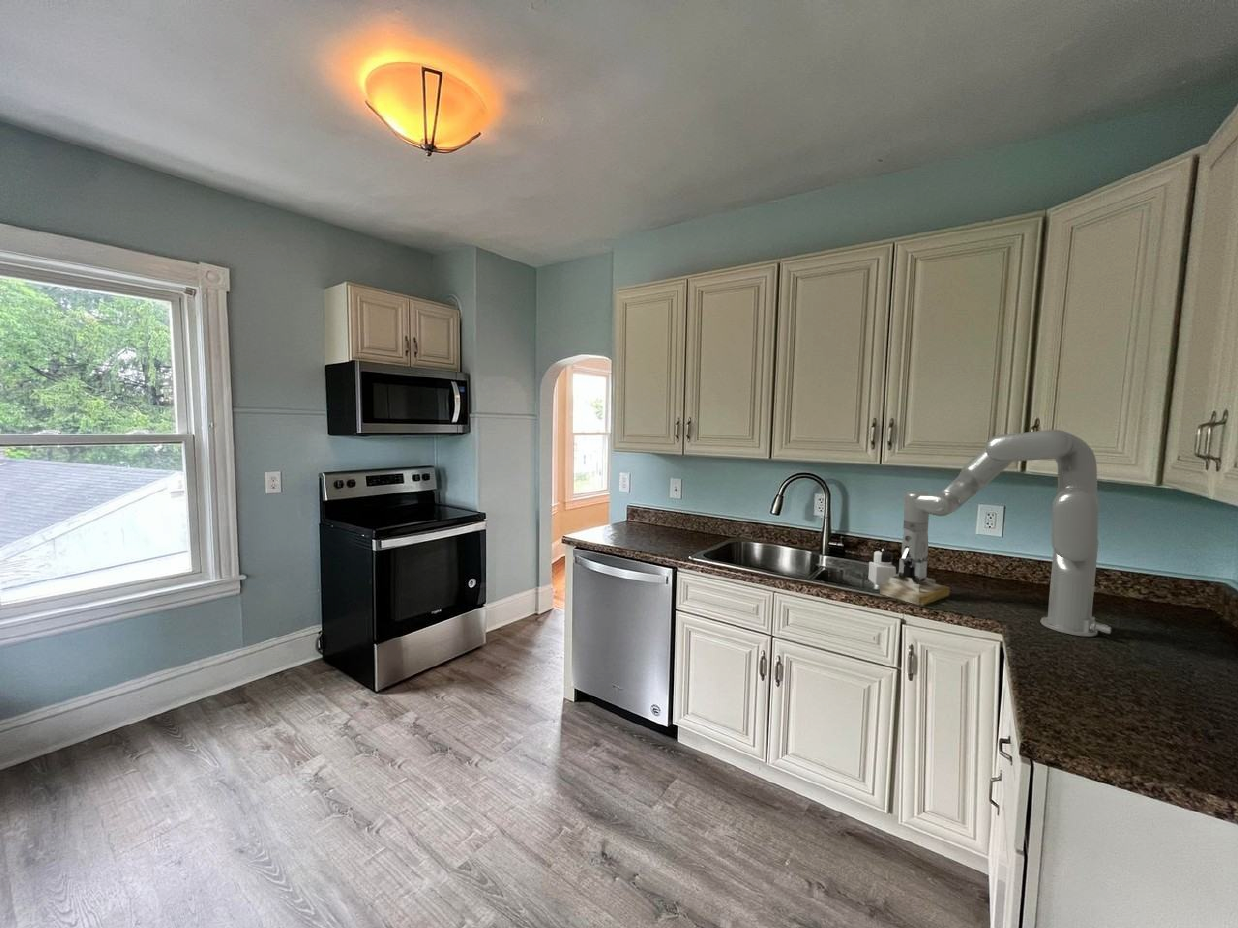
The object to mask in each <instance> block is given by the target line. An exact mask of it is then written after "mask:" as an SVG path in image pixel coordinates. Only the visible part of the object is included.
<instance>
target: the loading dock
mask: <svg viewBox="0 0 1238 928" xmlns="http://www.w3.org/2000/svg"><path fill="white" fill-rule="evenodd" d="M950 589H951V588H950V586H948V585H947V586H946V585H942V584H938V583H936V579H934V578H929V577H926V579H925V580H923V581H920V582H917V583H915V582H914V581H913V580H912V579H911V578H907V577H906V578H905V579H901V578H900V577H899V573H896V575H893V576H889V577H887V583H886V584H885V585H880V589H879V595H883V596H886V597H889V598H892V599H895V600H899V601H903V602H906V603H910V604H914V605H918V606H920V607H923V606H926V605H928V604H930V603H931V604H932V603H933V602H936V601H939V600H942V599H944V598H946V597H950V591H951V590H950Z"/></svg>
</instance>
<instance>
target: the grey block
mask: <svg viewBox="0 0 1238 928" xmlns="http://www.w3.org/2000/svg"><path fill="white" fill-rule="evenodd" d="M908 558H911V556H909V557H908ZM909 561H910V563H911V560H909ZM903 564H904V563H903V561H902V557H901V558H899V565H898V574H899V577H900V578H901V579H905V578H906V577H904V576H903V573H904V565H903ZM927 566H928V560H924V559H923V560H919V559H918V560H914V564H913V567H914V577H913V579H912V580H913V581H914V582H915V583H917V582H920V581H923V580H925V579H926V578H927V569H928V567H927Z"/></svg>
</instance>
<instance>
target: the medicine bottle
mask: <svg viewBox="0 0 1238 928" xmlns="http://www.w3.org/2000/svg"><path fill="white" fill-rule="evenodd" d="M892 559H893V554H892V553H891V552H889V551H884V550H876V551H874V552H873V561H869V562H868V563H869V564H868V580H869V581H870V582H872V583H873V584H874V585H876V586H881V585H885V584H886V583H887V577H889V576H893V575H896V574H897V572H896V571H897V568H896V566H895V565H893V564H892V563H893V562H892Z"/></svg>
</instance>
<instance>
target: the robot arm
mask: <svg viewBox="0 0 1238 928" xmlns="http://www.w3.org/2000/svg"><path fill="white" fill-rule="evenodd" d="M1040 460H1043V461H1044V460H1054V461H1056V463H1057V492H1056V496H1055V498H1054V500H1053V502H1052V510H1051V511H1052V513H1051V514H1052V515H1051V546H1052V548H1053V552H1052V562H1051V574H1050V584H1049V585H1050V586H1049V597H1048V608H1047V609H1048V610H1047V616H1043V617H1041V618H1040V623H1041V625H1043V626H1044V627H1046V628H1047V629H1051V630H1053V631H1055V632H1060V633H1062V634H1067V635H1072V636H1078V637H1095V636H1097V635H1098V631H1099V632H1101V633H1105V634H1108V635H1110V634H1111V633H1112V627H1111V626H1109V625H1108V624H1105V623H1100V622H1097V621H1095V620H1096V618H1095V616H1093V615H1092V613H1093V603H1094V601H1093V600H1094V592H1095V591H1094V590H1095V581H1096V571H1097V569H1096V568H1097V558H1098V551H1099V537H1098V534H1099V531H1098V530H1099V508H1100V505H1099V500H1098V473H1097V472H1098V467H1097V460H1096V456H1095V454H1094V451H1093V450H1092V448H1091V446H1090V445H1089V444H1088V443H1087V442H1085V440H1083V439H1082V438H1080V437H1078V436H1076V435H1075V434H1072V433H1070V432H1067V431H1064V430H1061V429H1060V430H1059V429H1047V430H1038V431H1037V430H1036V431H1028V432H1019V433H1018V432H1017V433H1007V434H1003V433H1002V434H997V435H994V436H993V437H991V438H990V439H989V440H988V441H987V443H986V445H985V447H983V449H981V450H980V451H979V452H978V453H977V454H975V456H974V457H973V458H971V459H970V460H969V461H968V462H967V463H966V464H964V466H963V467H962V468H961V470H960V473H959V475H958V476H957V477H956V478H955V479H954V480H953V481H952V482H951V483H950V484H948V486H947V487H945V488H944V489H943V490H941V492H940V493H935V494H929V493H928V492H923V491H916V490H915V491H913V490H911V491H907V492H905V497H904V514H903V528H902V529H903V530H904V532H903V536H902V542H901V558H902V561H903V563H904V564H903V565H904V573H903V576H904V577H907V578H911V579H913V577H914V567H913V564H914V560H918V559H919V560H924V559H925V558H927V557H928V556H929V520H930V519H929V517H930V515H932V516H937V517H945V516H949V515H950V514H952V513H954V512H957V510H958V509H960V508H961V507H962V506H963V505H964V504H965V503H967V502H968V501H969V500H970V499H971V498H972V497H974V496H975V495H976V494H977V493H978V492H979V491H981V490H982V489H983V488H985V487H986V486H987V485H988V484H989V483H990V482H991V481H992V480H993V479H995V478H996V477H997V476H998V475H1000V474H1001V473H1002V472H1003V471H1004V470H1005V469H1006V468H1008V467H1009V466H1010V465H1011V464H1013V463H1014V462H1027V461H1040ZM908 557H910V558H908ZM909 560H911V563H910V561H909Z"/></svg>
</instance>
